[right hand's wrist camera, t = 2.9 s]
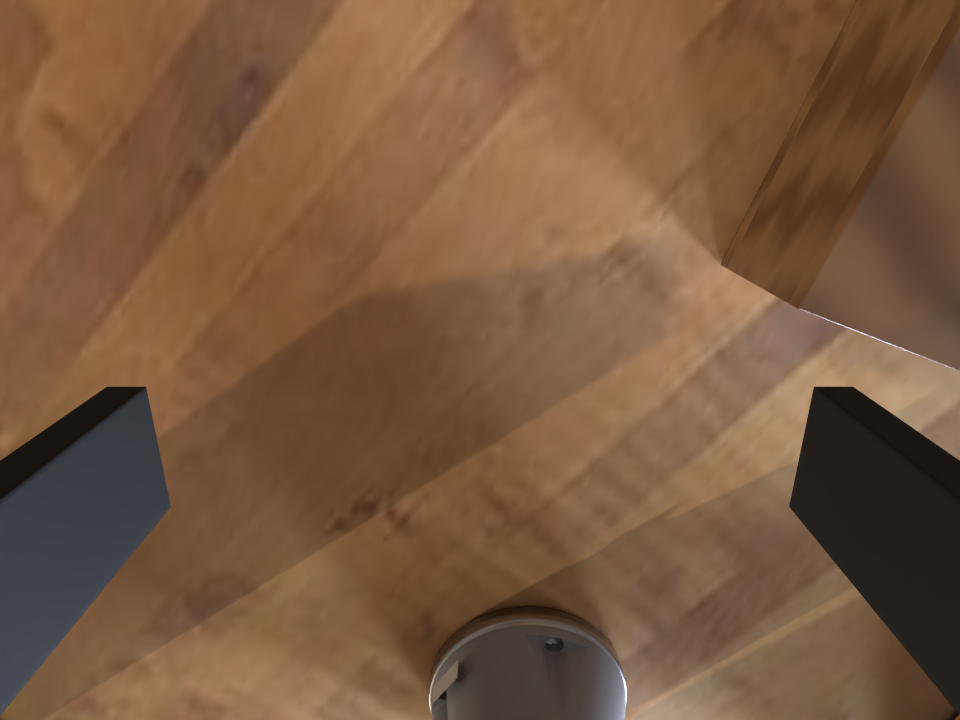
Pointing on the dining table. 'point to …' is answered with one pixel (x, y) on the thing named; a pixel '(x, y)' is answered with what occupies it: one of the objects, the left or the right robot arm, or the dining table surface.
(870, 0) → the cabinet
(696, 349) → the dining table surface
